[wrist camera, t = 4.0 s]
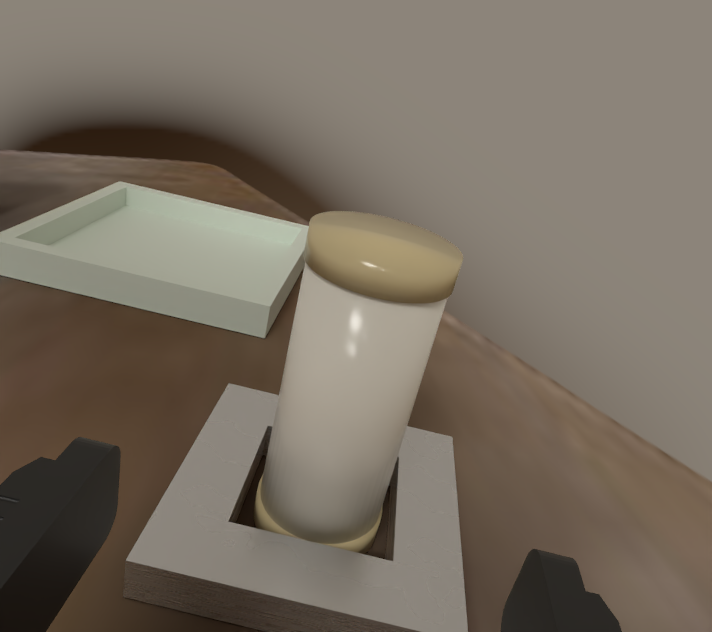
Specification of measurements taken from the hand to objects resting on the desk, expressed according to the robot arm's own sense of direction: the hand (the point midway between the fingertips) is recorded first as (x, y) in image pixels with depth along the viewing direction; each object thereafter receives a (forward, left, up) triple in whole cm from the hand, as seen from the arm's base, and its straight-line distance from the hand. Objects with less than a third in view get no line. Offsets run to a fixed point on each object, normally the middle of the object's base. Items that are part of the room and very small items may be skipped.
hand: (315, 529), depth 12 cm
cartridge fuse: (0, +8, -8) cm, 11 cm away
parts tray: (-13, +29, -8) cm, 32 cm away
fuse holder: (0, +8, -8) cm, 11 cm away
